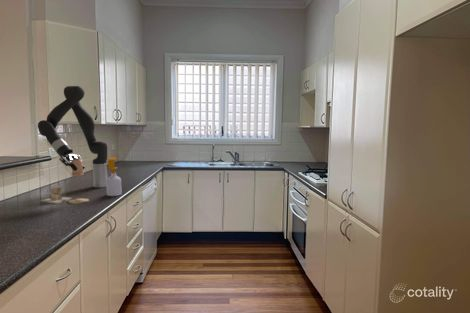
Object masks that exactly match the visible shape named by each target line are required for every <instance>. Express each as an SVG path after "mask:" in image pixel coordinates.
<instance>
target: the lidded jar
mask: <svg viewBox="0 0 470 313" xmlns="http://www.w3.org/2000/svg"><path fill="white" fill-rule="evenodd" d="M82 160H83V159H82ZM82 160H81V159H79V158H75V160H72V162H73V164H74V165H75V166H76V167H77V170H76V171H74V170H73V169H72V168H71V174H70V175H71V176H72V177H82V176H84V175H85V174H84V171H83V170H84V169H83V165H84V161H83V162H82Z"/></svg>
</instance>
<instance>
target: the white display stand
mask: <svg viewBox="0 0 470 313" xmlns="http://www.w3.org/2000/svg"><path fill="white" fill-rule="evenodd" d="M62 192H63V189H62V186H54V187H53V186H52V187H50V197H48V198H45V199H42V200H39V203H43V204H55V205H58V204H62V203H65V202H67V201H70V200H73V199H74V198H73V196H72V197H71V196H70V197H69V196H63V193H62Z"/></svg>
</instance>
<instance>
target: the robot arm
mask: <svg viewBox="0 0 470 313" xmlns="http://www.w3.org/2000/svg"><path fill="white" fill-rule="evenodd" d="M63 95H64V97H65V100H64V101H62V102H60V103H59V104H58V105H56V106H54V107H53V109H51V111H50V112H49V113H48V115H47V116H46V120H40V121H39V122H38V123H37V130H38V133H39V134H40V135H41V136H43V137H45V138H46V140H47V143H49V145H50V146H51V147H52V149H53V150H54V151H55V152H56V153H57V155H58V156H59V159H58V160H59V161H60V162H61V163H62V164H63V165H64V166H66V167H70V168H71V170H72V169H73V170H74V171H76V170H77V167H76V166H75V165H74V164H73V162H72V160H75V158H79V159H81V160H82V162H83V163H84V159H83V158H82V157H81V154H79V153H77V154H75V153H74V150H73V149H72V147H71V146H70V145H69V144H68V143H67V141H65V140H64V139H63V137H61V135H60V133H58V132H57V126H58V124H59V123H60V122H61V120H62V119H63V118H64V116H65V115H66V114H67V113H68V112H69V111H70V110H72V112H73V113H74V115H75V118H76V120H77V122H78V124H79V127H80V129H81V130H82V133H83V136H84V137H85V140H86V143H87V145H88V149H89V151H90V153H92V154H93V155H96V157H95V158H93V159H92V175H93V176H92V177H93V178H92V180H93V182H92V183H93V188H106V180H107V178H108V177H109V175H108V170H107V169H108V164H107V162H108V144H107V143H106V142H105V141H97V139H96V137H95V129H96V124H95V121H94V118H93V117H92V115H91V113H90V112H89V111H88V110H86V108H84V106H83V105H82V104H81V102H80V101H82V100H83V99H84V98H85V90H84V88H83V87H81V86H79V85H68V86H65V87H64V88H63ZM85 169H86V166H85V165H84V164H83V170H85Z"/></svg>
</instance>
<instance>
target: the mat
mask: <svg viewBox="0 0 470 313" xmlns="http://www.w3.org/2000/svg"><path fill="white" fill-rule="evenodd" d="M88 202H90V198H73V199H71V200H68V204H72V205H80V204H85V203H88Z"/></svg>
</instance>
